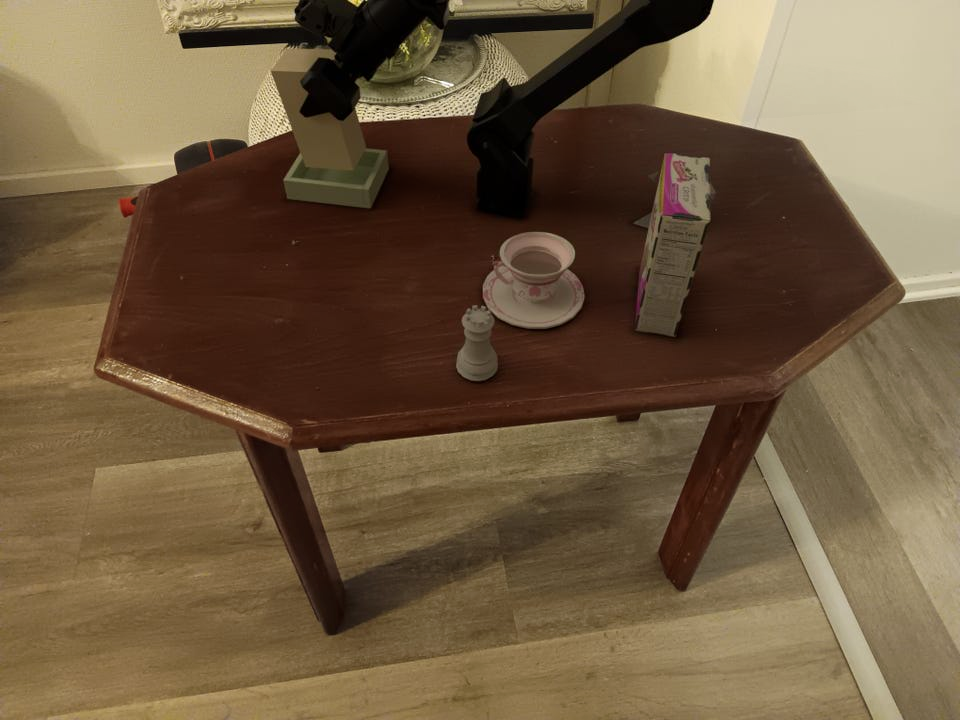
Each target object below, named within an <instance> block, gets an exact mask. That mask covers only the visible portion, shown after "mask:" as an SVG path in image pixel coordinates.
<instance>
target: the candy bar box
mask: <svg viewBox="0 0 960 720" xmlns="http://www.w3.org/2000/svg"><path fill="white" fill-rule="evenodd" d="M710 182H711V159H710V157H704V156H698V157H697V156H693V155H687V154H681V155H680V154H679V153H673V152H672V153H669V152H667V153H664V156H663V160H662V164H661V169H660V175H659V179H658V182H657V183H658V184H657V188H656V192H655V198H654V202H653V206H652V211H651V213H652V216H651V220H650V225H649V228H647V229H648V230H647V234H646V240H645V244H644V249H643V253H642V258H641V262H640V267H639V273H638V283H637V297H636V307H635V321H634V323H635V324H634V331H635V332H639V333H644V334H652V335H659V336H665V337H671V338H676V337H677V335H678V334H677V333H678V330H679V327H680V324H681V320H682V318H683V313H684V311H685V307H686V304H687V300H688V297H689V293H690V290H691V287H692V283H693V279H694V276H695V273H696V269H697V266H698V263H699V260H700V257H701V253H702V249H703V245H704V243H705V238H706V235H707V232H708V228H709V225H710V222H711V205H710Z"/></svg>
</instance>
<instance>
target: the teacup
mask: <svg viewBox="0 0 960 720" xmlns="http://www.w3.org/2000/svg"><path fill="white" fill-rule="evenodd" d="M575 257H576V251H575V248H574V246H573V244H572V243H570V241H568V240H567V239H566V238H564V237H562V236H559V235H557V234H554V233H550V232H546V231H545V232H544V231H527V232H521V233H519V234H516V235H513V236H511V237H510V238H508V239H506V240H505V241H504V242H503V243H502V245H501V246H500V248H499V258H500V260H495V261H493V262H492V266H493V270H492V271H491V272H490V273H489V274H488V275H486V278H485V280H484V282H483V284H482V299H483V302H484V303H485V305H486V308H487V309H488V310H490V312H491V314H492V315H494V316H495V317H496V318H497V319H499V320H501V321H503V322H504V323H507V324H508V325H510V326H515V327H518V328H523V329H527V330H546V329H551V328H555V327H558V326H562V325H564V324H565V323H567V322H569V321H571V320H573V319H574V318H575V317H576V316H577V315H578V313H579V312H580V311H581V310H582V307H583V305H584V301H585V297H586V296H585V291H584V289H585V288H584V285H583V283H582V282H581V280H580V279H579V277H578V276H577V275H576V274H575V273H574V272H572V271H571V270H570V269H569V268H570V266H571V265H573V262H574V261H575Z"/></svg>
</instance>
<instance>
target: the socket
mask: <svg viewBox="0 0 960 720" xmlns="http://www.w3.org/2000/svg"><path fill="white" fill-rule="evenodd" d="M389 169H390V168H389V155H388V150H385V149H375V148H368V147H366V149H365V151H364V152H363V154H362V156H361V158H360V160H359V162H358V163H357V165H356V167H355V169H354V170H341V169H326V168H311V167H306V166H305V163H304V161H303V158H302V155H301V152H299V154H298V156H297V157H296V159H295V161H294V162H293V163H292V165H291V166H290V169H289V170H288V172H287V173H286V175H285V177H284V178H283V185H284V189H285V194H286V199H287V200H292V201H301V202H311V203H317V204H318V203H319V204H329V205H336V206H337V205H338V206H345V207H354V208H360V209H361V208H362V209H370V210H371V209H372V207H373V205H374V202H375V200H376V198H377V196H378V194H379V191H380V189H381V187H382V186H383V183H384V181H385V178H386V176H387V174H388V172H389Z"/></svg>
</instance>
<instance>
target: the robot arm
mask: <svg viewBox="0 0 960 720" xmlns="http://www.w3.org/2000/svg"><path fill="white" fill-rule="evenodd" d="M450 1H451V0H361V2H360V3H359V4H358V5H356V4H354V3H353V2H352V1H350V0H298V4H297V5H296V7H295V8H294V9H293V13H294V14H295V15H294V21H295V22H296V23H297V25H299V26H300V27H301V28H303V29H304V30H306V31H309V32H310V33H312V34H314V35H316V36H320V35H321V36H323V37H325V38H328V39H330V40H329V42H328V43H327V44H326V45H327V47H328V48H329V49H330V50H333V51H334V52H335V53H336V54H335V55H334V57H333V60H334V61H335V62H336V63H337V64H338V65H340V64H341V62H343V63H342V65H341V66H340V68H339V67H338V66H337V65H336V64H335V63H334V62H333V61H332V60H331V59H330V58H321V57H319V58H318V59H317V60H316V61H315V62H314V63H313V64H312V66H311V67H310V68H309V69H308V71H307V72H306V73H305V75H304V76H303V77H302V79H301V80H300V83H301V86H302V88H304V89H305V90H306V91H307V92H308V95H307V97H306V99H305V101H304V103H303V105H302V107H301V109H300V111H299V112H300V113H301V114H302V115H303V116H304V117H305V118H307V117H312V116H316V115H320V114H324V113H329V112H330V113H331V114H332V115H333V116H334V117H335V118H336V119H337V120H340V121H344V120H345V119H346V118H347V117H348V116H349V115H350V114H351V113H352V112H353V110H354V108H355V109H356V107H357V105H358V103H359V101H360V100H361V98H362V95H361V88H360V86H359V85H358V84H357V80H358V79H361V78H363V79H365V81H366V82H368V83H369V82H370V81H371V80H372V79H373V78H374V76H375V75H376V73H377V71H378V69H379V68H380V67H381V66H382V65H383V64H384V63H385V62H386V61H387V60H389V61H391V60H392V59H393V58H394V57H395V56H396V54H397V53H398V51H399V48H400V47H401V46H402V45H403V44H404V43H405V41H407V40H408V39H409V38H410V37H411V36H412V34H413V33H414V32H416V30H418V28H420V26H421V25H422V24H423V23H425V22H426V20H427V19H429V20H430V21H431V22H432V23H433V25H435V27H436V28H437V29H438V30H440V31H443V30H445V28H446V25H447V24H448V21H449V19H450V17H451V12H450ZM714 3H715V0H629V1H628V2H627V4H625V6H624V7H623V8H622V9H621V10H619V11H618V12H617V13H616V14H614V15H613V16H612V17H610V18H609V19H607V20H606V21H605V22H604V23H602V24H601V25H600V26H599V27H597V28H596V29H594V30H593V31H592V32H590V33H589V34H587V35H586V36H585V37H584V38H582V39H581V40H580V41H579V42H577V43H576V44H574V45H573V46H572V47H570V48H569V49H568V50H567V51H565V52H563V54H562V53H561V55H560V56H558V57H557V58H555V60H552V62H550V63H549V64H548V65H547V66H545V67H544V68H542V69H541V70H540V71H538V72H537V73H536V74H534V75H533V76H532V77H531V78H528V79H527V80H525V82H523V83H518V84H515V85H511V84H510V83H509V81H508V80H507V78H506V77H502V78H501V79H500V80H499V81H498V82H497V83H496V84H495V85H494V86H493V87H492V88H491V89H489V90H488V91H483V92H481V93H480V95H479V99H478V101H477V105H476V107H475V110H474V113H473V115H472V118H471V122H470V124H469V129H468V131H467V133H466V143H467V147H468V149H469V151H470V152H471V154H472V155H473V156H475V157H476V158H477V160H478V162H479V165H480V166H479V167H478V169H477V171H476V198H477V199H478V202H477V204H476V210H477V211H479V212H485V213H491V214H494V215H495V214H496V215H501V216H504V217H505V216H506V217H511V218H516V219H524V217H525V215H526V213H527V210H528V208H529V206H530V203H531V201H532V199H533V196H534V195H535V189H534V188H533V187H532V186H533V173H534V162H535V160H534V158H532V157H531V153H532V148H533V143H534V138H535V131H534V130H533V129H534V127H535V126H536V125H537V123H538V122H539V121H540V120H541V119H542V118H543V117H546V115H548V114H549V113H550V112H552V111H553V110H555V109H556V108H557V107H559V106H561V105H562V104H563V103H564V102H566V101H567V100H569V99H571V98H572V97H573V96H575V95H576V94H577V93H579V92H580V91H582V90H583V89H585V88H586V87H588V86H589V85H590V84H592V83H593V82H595V81H596V80H597V79H599V78H600V77H602V76H603V75H605V74H606V73H607V72H609V71H611V69H613V68H615V67H616V66H617V65H619V64H620V63H622V62H623V61H625V60H626V59H627V58H629V57H630V56H632V55H633V54H635V53H636V52H637V51H639V50H641V49H643V48H645V47H649V46H653V45H658V44H662V43H667V42H669V41H670V42H671V41H672V40H673V39H676V38H678V37H680V36H682V35H684V34H686V33H688V32H690V31H693V30H694V29H696V28H698V27H699V26H701V25H702V24H703V23H705V21H707V20H708V18H709V16H710V15H711V14H712V13H711V11H712V9H713V6H714Z"/></svg>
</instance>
